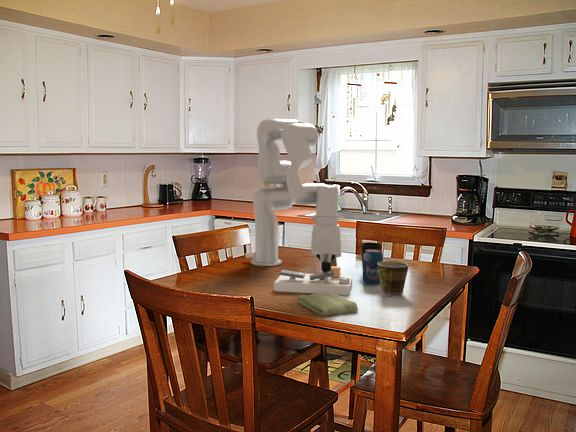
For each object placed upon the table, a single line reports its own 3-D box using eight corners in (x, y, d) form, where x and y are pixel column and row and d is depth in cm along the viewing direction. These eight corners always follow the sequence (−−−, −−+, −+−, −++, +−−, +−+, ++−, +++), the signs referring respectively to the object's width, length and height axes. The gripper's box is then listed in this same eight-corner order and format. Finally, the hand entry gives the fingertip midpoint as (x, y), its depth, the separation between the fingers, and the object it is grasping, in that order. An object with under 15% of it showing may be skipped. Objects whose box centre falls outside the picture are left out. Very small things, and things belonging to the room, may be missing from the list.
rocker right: (310, 280, 183) (309, 277, 183) (311, 277, 187) (310, 274, 187) (333, 275, 182) (332, 272, 182) (334, 273, 186) (333, 270, 186)
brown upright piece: (337, 277, 204) (337, 248, 203) (321, 276, 206) (321, 247, 204) (338, 273, 210) (339, 245, 209) (323, 273, 211) (323, 244, 210)
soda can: (367, 286, 191) (368, 252, 190) (359, 281, 198) (360, 249, 196) (385, 285, 193) (386, 251, 192) (377, 280, 200) (378, 248, 198)
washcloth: (332, 298, 177) (332, 288, 176) (360, 313, 161) (361, 303, 160) (295, 302, 172) (295, 292, 171) (321, 318, 156) (321, 307, 155)
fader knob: (330, 276, 191) (331, 267, 190) (331, 274, 193) (331, 266, 193) (339, 276, 190) (339, 268, 190) (340, 274, 193) (340, 266, 193)
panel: (274, 291, 184) (274, 277, 183) (282, 280, 198) (282, 268, 198) (349, 295, 179) (349, 281, 179) (352, 284, 194) (352, 271, 194)
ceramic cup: (386, 288, 189) (387, 259, 188) (412, 293, 183) (413, 263, 181) (366, 295, 179) (367, 265, 178) (393, 301, 173) (394, 270, 171)
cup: (357, 276, 207) (357, 244, 205) (364, 272, 213) (365, 241, 212) (376, 278, 203) (377, 246, 202) (383, 274, 210) (384, 243, 208)
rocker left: (279, 274, 185) (280, 271, 185) (282, 272, 189) (282, 269, 189) (303, 278, 184) (303, 275, 183) (304, 275, 187) (305, 272, 187)
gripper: (303, 221, 188) (303, 274, 190) (347, 222, 185) (346, 276, 187) (306, 218, 195) (306, 269, 197) (349, 220, 192) (347, 271, 195)
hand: (325, 272), depth 192 cm, fingers closed
